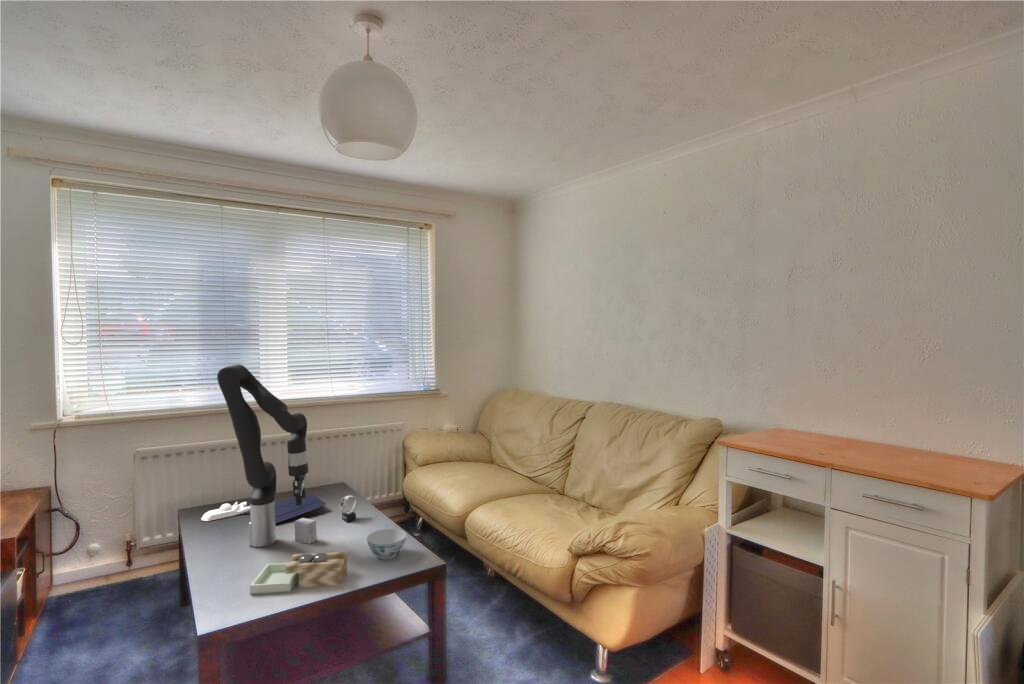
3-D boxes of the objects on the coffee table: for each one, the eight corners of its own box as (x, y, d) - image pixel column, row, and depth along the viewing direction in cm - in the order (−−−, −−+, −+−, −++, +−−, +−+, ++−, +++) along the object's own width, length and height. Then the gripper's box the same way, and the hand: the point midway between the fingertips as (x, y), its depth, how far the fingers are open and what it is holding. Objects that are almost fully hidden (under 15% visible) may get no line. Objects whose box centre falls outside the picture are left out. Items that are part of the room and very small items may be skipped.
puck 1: (297, 566, 184) (297, 559, 184) (301, 561, 188) (301, 554, 188) (310, 565, 184) (310, 558, 184) (313, 560, 189) (313, 553, 189)
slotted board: (285, 588, 181) (284, 566, 181) (294, 574, 191) (294, 553, 191) (340, 584, 183) (340, 563, 183) (346, 571, 193) (346, 551, 192)
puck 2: (312, 565, 184) (312, 558, 184) (315, 560, 189) (315, 553, 189) (325, 565, 185) (325, 558, 185) (328, 559, 189) (328, 552, 189)
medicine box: (317, 540, 221) (316, 520, 220) (308, 544, 217) (308, 523, 216) (303, 537, 224) (302, 517, 224) (294, 541, 220) (294, 520, 220)
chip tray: (250, 594, 177) (249, 585, 177) (267, 571, 193) (267, 563, 193) (290, 592, 178) (289, 583, 178) (304, 570, 194) (303, 562, 194)
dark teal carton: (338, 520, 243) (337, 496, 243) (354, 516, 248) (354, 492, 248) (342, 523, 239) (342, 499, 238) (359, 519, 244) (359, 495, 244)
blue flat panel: (329, 510, 253) (327, 503, 252) (262, 534, 234) (261, 526, 234) (311, 497, 272) (310, 491, 271) (248, 519, 253) (247, 511, 252)
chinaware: (372, 567, 196) (371, 547, 195) (363, 552, 209) (363, 532, 209) (411, 558, 203) (411, 539, 202) (400, 544, 216) (400, 525, 216)
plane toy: (199, 517, 249) (199, 505, 249) (246, 508, 261) (245, 496, 261) (202, 524, 241) (202, 511, 240) (250, 514, 253) (250, 502, 252)
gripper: (291, 459, 222) (294, 497, 223) (284, 468, 208) (287, 508, 209) (310, 457, 223) (313, 494, 224) (304, 466, 209) (307, 506, 210)
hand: (301, 501), depth 216 cm, fingers open, 8 cm apart
